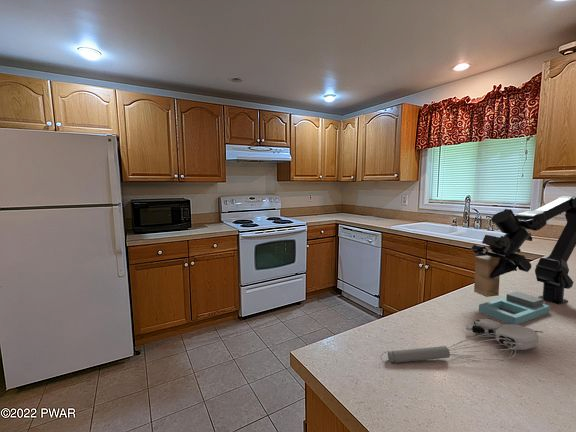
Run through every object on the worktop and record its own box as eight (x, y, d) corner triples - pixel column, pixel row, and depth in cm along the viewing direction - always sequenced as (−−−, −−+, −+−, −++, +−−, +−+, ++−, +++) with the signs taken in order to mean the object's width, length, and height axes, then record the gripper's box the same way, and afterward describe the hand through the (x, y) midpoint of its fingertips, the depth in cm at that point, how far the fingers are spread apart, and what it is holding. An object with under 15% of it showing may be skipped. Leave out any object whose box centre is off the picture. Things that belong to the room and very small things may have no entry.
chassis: (512, 301, 105) (513, 289, 105) (549, 312, 95) (550, 300, 95) (478, 311, 97) (479, 299, 97) (514, 325, 87) (515, 311, 87)
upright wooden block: (485, 290, 102) (487, 255, 100) (498, 295, 97) (500, 258, 96) (474, 291, 101) (475, 256, 99) (486, 297, 96) (488, 259, 95)
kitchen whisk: (376, 355, 73) (377, 332, 73) (502, 351, 74) (503, 329, 74) (385, 370, 67) (385, 345, 67) (522, 366, 68) (524, 342, 68)
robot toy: (462, 337, 83) (524, 360, 70) (462, 322, 83) (524, 342, 70) (485, 326, 89) (546, 346, 76) (485, 312, 89) (546, 329, 75)
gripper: (475, 223, 106) (449, 254, 105) (526, 230, 88) (495, 268, 87) (492, 242, 109) (466, 272, 108) (544, 253, 90) (514, 289, 89)
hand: (483, 275), depth 98 cm, fingers closed on upright wooden block, 5 cm apart
